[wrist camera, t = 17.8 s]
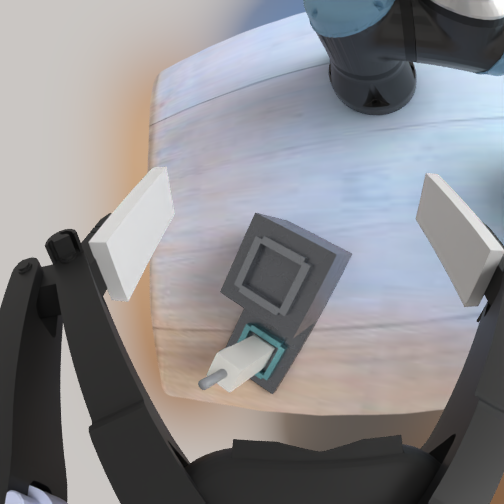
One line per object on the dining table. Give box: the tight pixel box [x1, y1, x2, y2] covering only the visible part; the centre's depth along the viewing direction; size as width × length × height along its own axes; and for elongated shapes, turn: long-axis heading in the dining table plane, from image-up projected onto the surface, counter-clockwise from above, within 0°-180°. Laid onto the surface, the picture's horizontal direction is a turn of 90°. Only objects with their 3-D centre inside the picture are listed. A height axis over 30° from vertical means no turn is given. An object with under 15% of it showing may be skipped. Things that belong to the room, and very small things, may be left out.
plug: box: [198, 334, 275, 393], centre depth 45 cm, size 5×4×17 cm
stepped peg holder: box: [221, 213, 352, 394], centre depth 46 cm, size 13×28×13 cm, turn 153°
